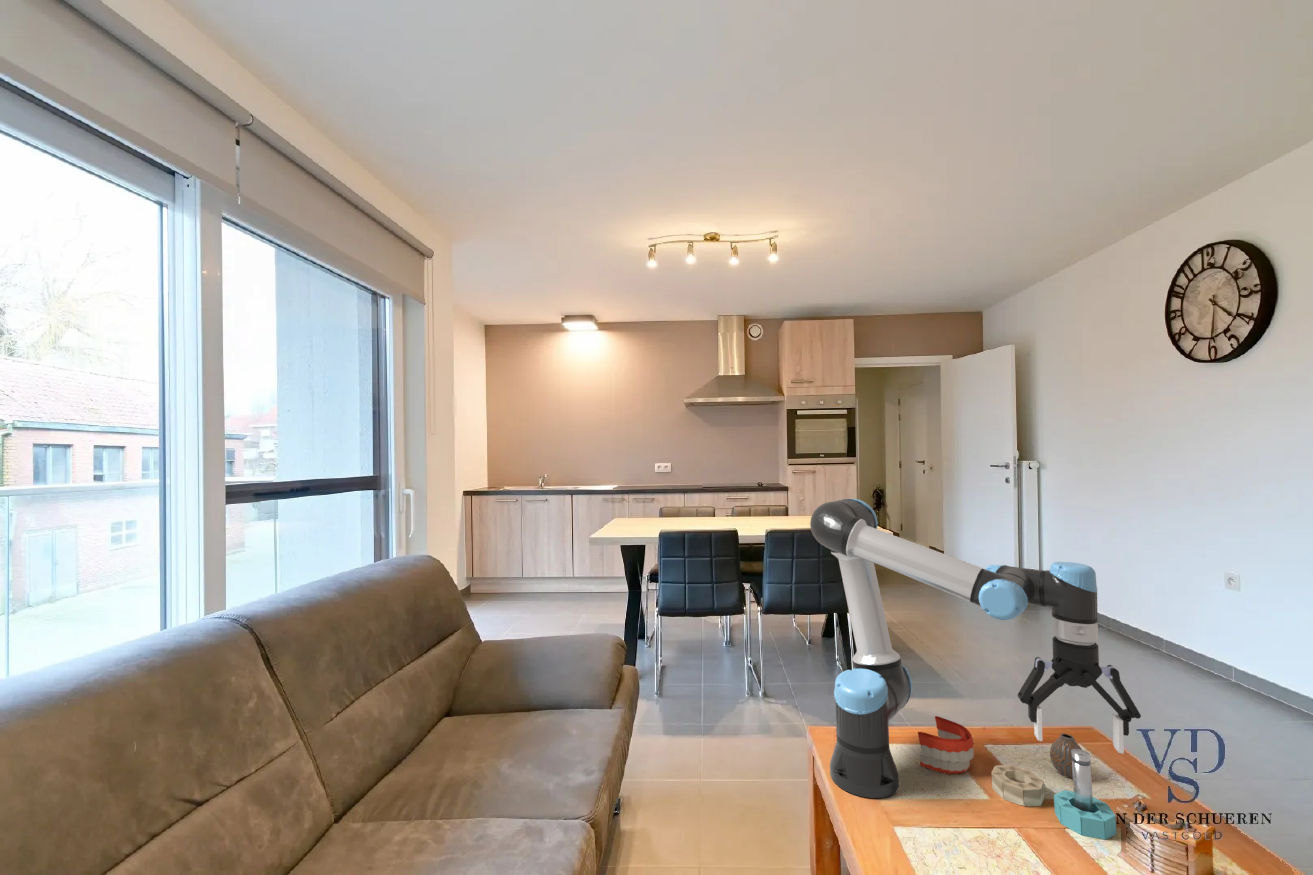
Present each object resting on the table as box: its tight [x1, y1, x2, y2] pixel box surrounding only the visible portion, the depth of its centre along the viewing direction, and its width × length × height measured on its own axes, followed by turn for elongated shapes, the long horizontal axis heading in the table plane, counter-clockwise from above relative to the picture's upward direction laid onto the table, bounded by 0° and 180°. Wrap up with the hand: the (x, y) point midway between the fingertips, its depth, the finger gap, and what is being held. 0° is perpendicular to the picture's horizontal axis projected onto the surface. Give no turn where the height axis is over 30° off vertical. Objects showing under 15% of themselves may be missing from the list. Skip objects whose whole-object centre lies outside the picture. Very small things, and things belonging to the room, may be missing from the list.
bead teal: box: [1053, 789, 1117, 841], centre depth 110 cm, size 9×9×4 cm
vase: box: [1049, 733, 1083, 780], centre depth 127 cm, size 7×7×9 cm
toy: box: [917, 715, 975, 775], centre depth 132 cm, size 12×10×8 cm
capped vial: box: [1071, 749, 1093, 813], centre depth 111 cm, size 3×3×14 cm
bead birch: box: [991, 764, 1045, 807], centre depth 120 cm, size 9×9×4 cm
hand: (1077, 743), depth 111 cm, fingers open, 13 cm apart
